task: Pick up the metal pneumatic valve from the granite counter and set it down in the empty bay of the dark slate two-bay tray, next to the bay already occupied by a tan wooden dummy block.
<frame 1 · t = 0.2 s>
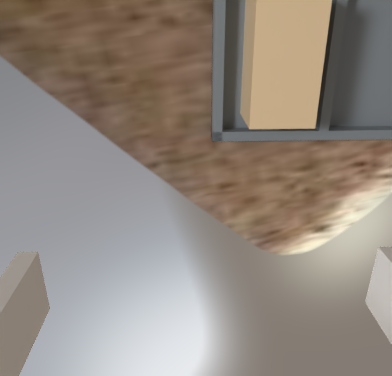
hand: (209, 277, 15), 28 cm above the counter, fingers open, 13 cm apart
bay tray: (326, 57, 38), on the counter
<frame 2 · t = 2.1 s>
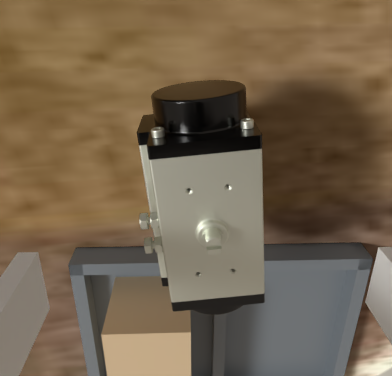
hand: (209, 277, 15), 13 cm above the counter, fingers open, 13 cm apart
pneumatic valve: (195, 150, 27), on the counter
bay tray: (217, 319, 34), on the counter
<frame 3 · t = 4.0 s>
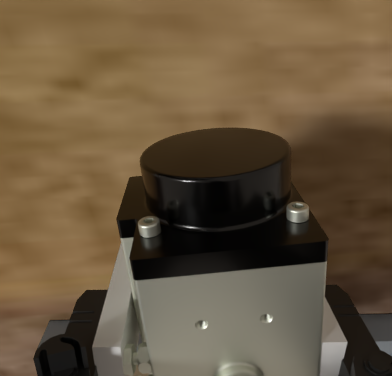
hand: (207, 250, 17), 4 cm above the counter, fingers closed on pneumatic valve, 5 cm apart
pneumatic valve: (202, 203, 21), on the counter, touching gripper
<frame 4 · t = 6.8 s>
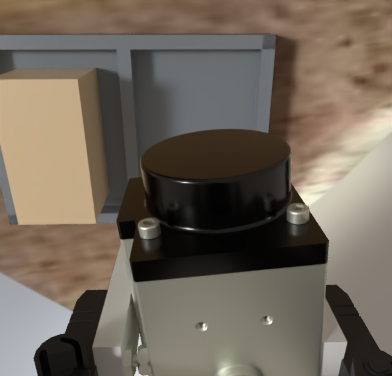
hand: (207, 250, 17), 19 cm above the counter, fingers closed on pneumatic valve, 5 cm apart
pneumatic valve: (202, 204, 21), point 14 cm above the counter, touching gripper
bay tray: (133, 131, 33), on the counter
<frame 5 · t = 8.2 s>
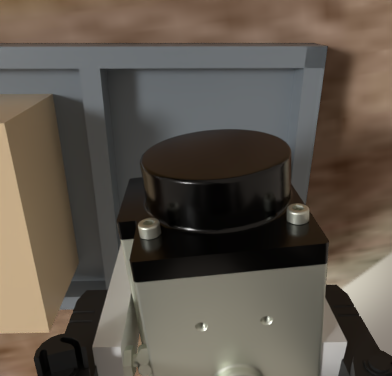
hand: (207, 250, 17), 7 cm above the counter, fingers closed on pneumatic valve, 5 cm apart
pneumatic valve: (202, 204, 21), point 3 cm above the counter, touching gripper
bay tray: (110, 182, 23), on the counter
when the fingers open (5 cm above the counter, at t = 9.5 s): pneumatic valve stays where it is, resting on bay tray.
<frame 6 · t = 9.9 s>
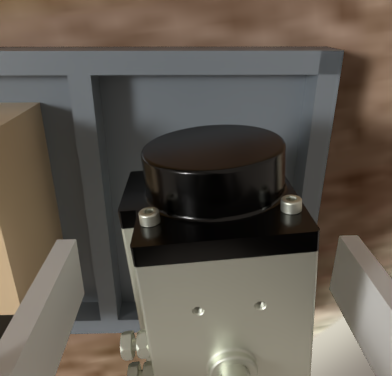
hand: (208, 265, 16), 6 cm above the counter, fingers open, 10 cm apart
pneumatic valve: (200, 200, 21), resting on bay tray
bay tray: (104, 197, 21), on the counter
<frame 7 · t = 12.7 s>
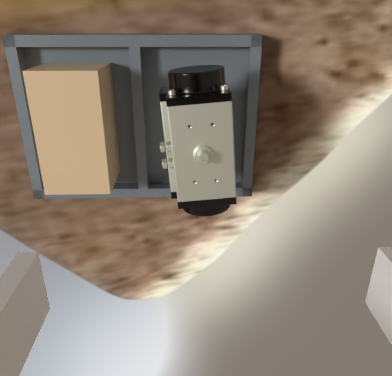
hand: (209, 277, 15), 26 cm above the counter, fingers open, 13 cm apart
pneumatic valve: (194, 118, 38), resting on bay tray
bay tray: (141, 117, 39), on the counter
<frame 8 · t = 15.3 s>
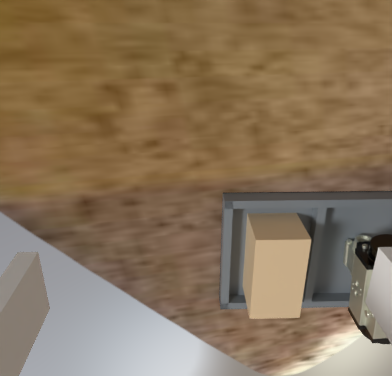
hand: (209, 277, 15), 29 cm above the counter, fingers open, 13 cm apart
pneumatic valve: (352, 248, 49), resting on bay tray
bay tray: (309, 247, 49), on the counter
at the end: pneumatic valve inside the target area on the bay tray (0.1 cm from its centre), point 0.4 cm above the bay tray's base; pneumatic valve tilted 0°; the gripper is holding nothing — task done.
